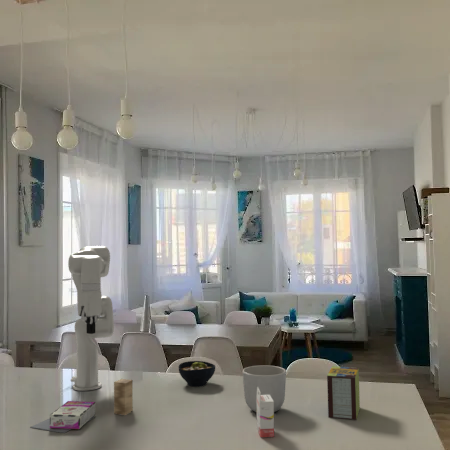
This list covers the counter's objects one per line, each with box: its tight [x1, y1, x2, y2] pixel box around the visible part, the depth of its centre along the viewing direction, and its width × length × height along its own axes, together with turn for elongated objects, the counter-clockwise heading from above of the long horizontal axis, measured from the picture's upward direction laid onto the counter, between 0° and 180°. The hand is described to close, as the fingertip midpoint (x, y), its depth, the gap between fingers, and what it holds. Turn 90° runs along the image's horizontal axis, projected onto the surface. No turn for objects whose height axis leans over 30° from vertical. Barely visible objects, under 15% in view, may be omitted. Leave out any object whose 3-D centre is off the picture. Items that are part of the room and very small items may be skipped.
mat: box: [29, 416, 96, 434], centre depth 185 cm, size 15×17×1 cm
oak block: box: [113, 378, 133, 416], centre depth 196 cm, size 5×5×12 cm
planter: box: [242, 364, 287, 413], centre depth 197 cm, size 17×17×15 cm
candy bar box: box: [49, 400, 96, 430], centre depth 185 cm, size 11×5×16 cm
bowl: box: [178, 360, 216, 388], centre depth 235 cm, size 17×17×10 cm
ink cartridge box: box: [256, 387, 275, 438], centre depth 172 cm, size 9×5×15 cm, turn 5°
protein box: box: [326, 365, 361, 421], centre depth 193 cm, size 10×15×16 cm
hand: (91, 333), depth 204 cm, fingers closed
